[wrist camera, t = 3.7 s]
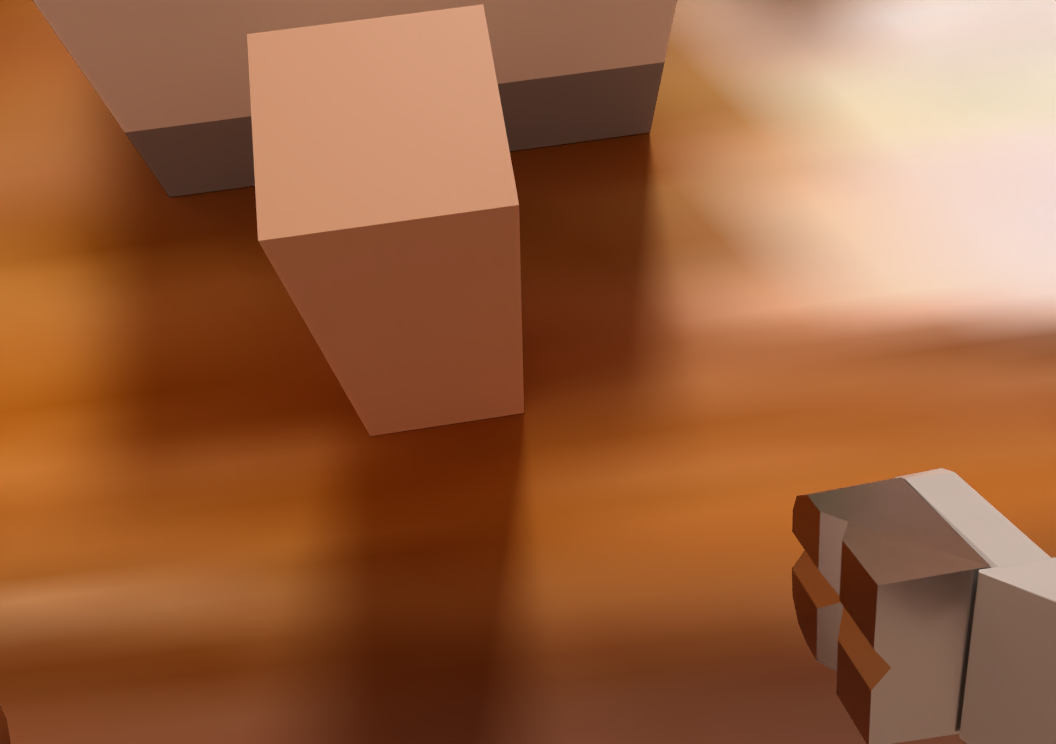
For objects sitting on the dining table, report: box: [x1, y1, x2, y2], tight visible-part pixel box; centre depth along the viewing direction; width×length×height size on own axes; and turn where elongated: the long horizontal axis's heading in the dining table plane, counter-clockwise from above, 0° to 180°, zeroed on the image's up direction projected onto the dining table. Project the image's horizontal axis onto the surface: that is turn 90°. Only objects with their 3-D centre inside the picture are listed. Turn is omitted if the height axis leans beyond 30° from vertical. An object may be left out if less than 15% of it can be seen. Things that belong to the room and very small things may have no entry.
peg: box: [247, 4, 524, 436], centre depth 19 cm, size 4×4×10 cm
